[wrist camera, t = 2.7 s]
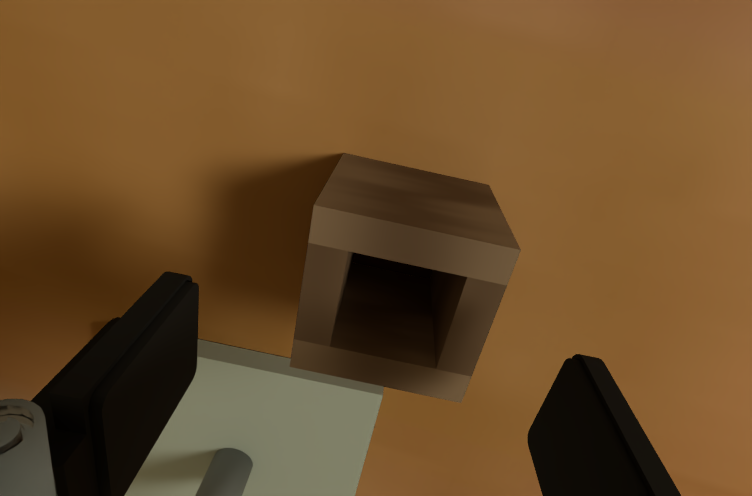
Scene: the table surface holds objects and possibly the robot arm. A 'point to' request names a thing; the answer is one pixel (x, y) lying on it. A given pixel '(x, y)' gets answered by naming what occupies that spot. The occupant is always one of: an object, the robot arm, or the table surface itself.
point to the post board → (261, 431)
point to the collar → (401, 278)
